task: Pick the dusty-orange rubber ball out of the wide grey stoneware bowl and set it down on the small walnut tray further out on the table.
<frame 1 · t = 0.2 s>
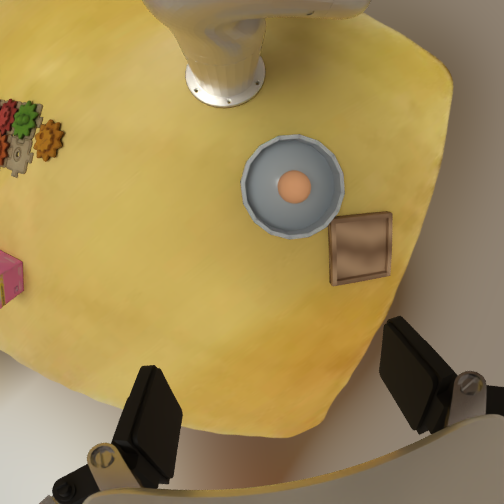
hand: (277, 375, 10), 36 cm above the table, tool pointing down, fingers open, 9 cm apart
tray: (359, 246, 47), on the table
ball: (291, 185, 42), point 1 cm above the table, touching bowl
gear puzzle: (17, 137, 36), on the table
bowl: (289, 185, 43), on the table
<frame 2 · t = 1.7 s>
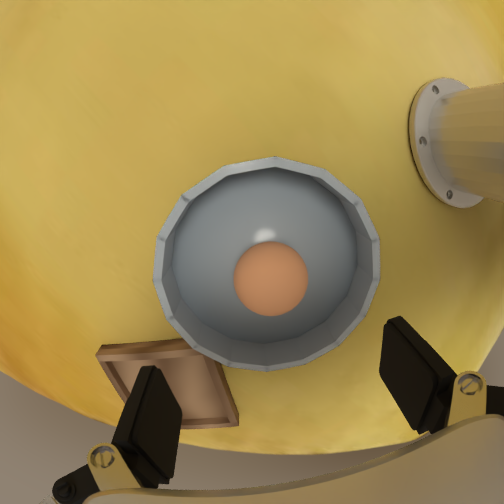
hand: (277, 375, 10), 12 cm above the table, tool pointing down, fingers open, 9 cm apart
tray: (171, 385, 26), on the table
ball: (267, 265, 21), point 1 cm above the table, touching bowl
bowl: (266, 261, 22), on the table
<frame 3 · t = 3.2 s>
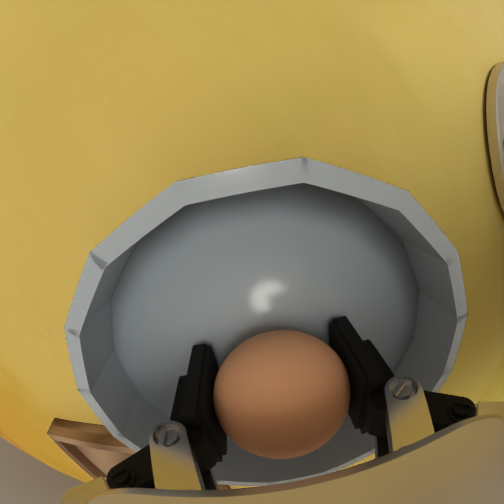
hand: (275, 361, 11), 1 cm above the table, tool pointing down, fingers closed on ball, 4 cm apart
tray: (146, 466, 16), on the table
ball: (274, 354, 11), point 1 cm above the table, touching bowl, gripper
bowl: (271, 342, 12), on the table
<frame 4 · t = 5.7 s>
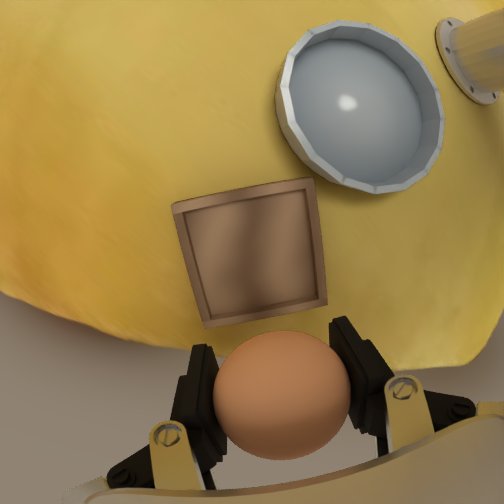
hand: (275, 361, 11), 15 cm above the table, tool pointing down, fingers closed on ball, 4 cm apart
tray: (253, 252, 25), on the table
ball: (274, 355, 11), point 15 cm above the table, touching gripper
bowl: (356, 108, 22), on the table
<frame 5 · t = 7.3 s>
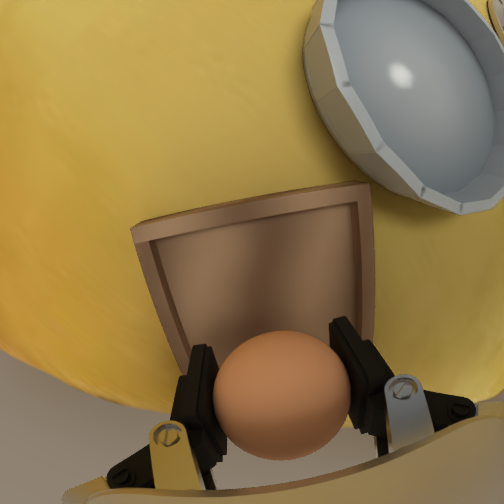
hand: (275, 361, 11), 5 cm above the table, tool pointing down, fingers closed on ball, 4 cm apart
tray: (267, 299, 16), on the table
ball: (274, 355, 11), point 5 cm above the table, touching gripper
bowl: (419, 82, 12), on the table
when the fingers open (2 cm above the table, at t = 8.3 s): ball drops 1 cm, resting on tray.
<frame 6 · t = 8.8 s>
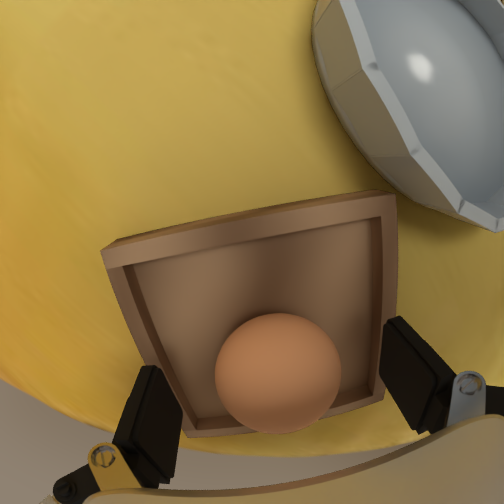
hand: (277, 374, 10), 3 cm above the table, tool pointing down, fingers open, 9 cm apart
tray: (268, 330, 13), on the table
ball: (271, 339, 13), point 1 cm above the table, touching tray
bowl: (443, 76, 10), on the table
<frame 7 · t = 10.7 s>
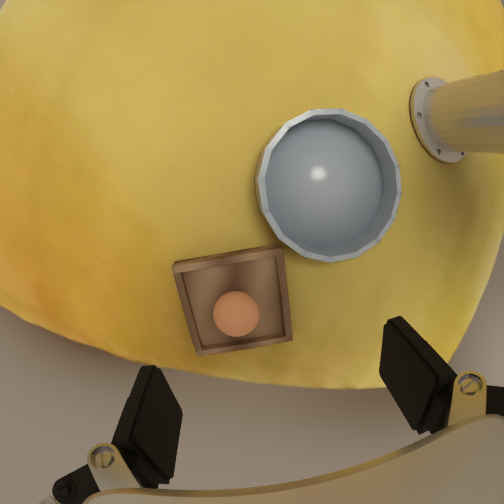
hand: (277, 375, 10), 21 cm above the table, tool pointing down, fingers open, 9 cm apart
tray: (235, 300, 32), on the table
ball: (236, 303, 32), point 1 cm above the table, touching tray
bowl: (324, 183, 29), on the table
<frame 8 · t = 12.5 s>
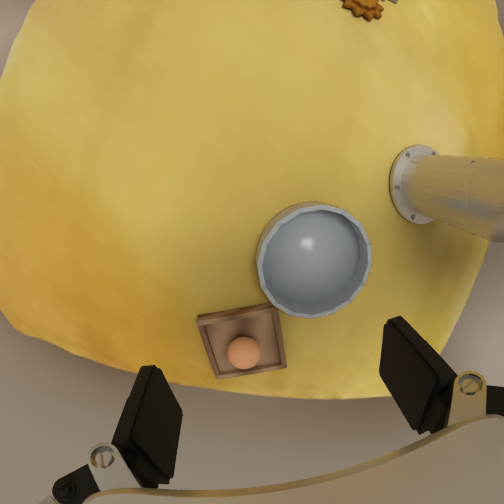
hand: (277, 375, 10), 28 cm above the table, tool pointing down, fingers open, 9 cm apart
tray: (244, 340, 43), on the table
ball: (244, 343, 42), point 1 cm above the table, touching tray
bowl: (310, 256, 39), on the table
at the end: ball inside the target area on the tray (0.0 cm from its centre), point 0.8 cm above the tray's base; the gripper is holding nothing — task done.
